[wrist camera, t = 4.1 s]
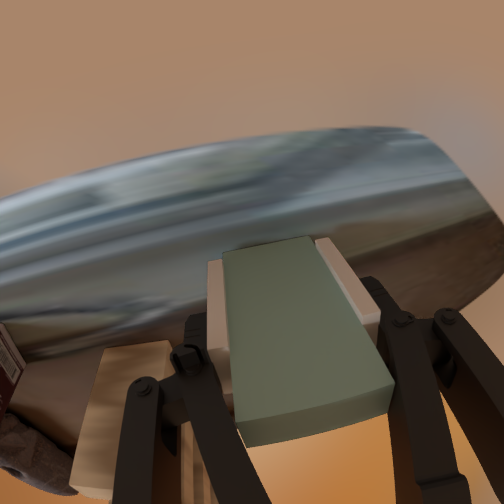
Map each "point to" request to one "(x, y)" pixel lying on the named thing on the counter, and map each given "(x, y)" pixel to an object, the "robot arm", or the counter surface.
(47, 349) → the counter surface
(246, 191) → the counter surface
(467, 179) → the counter surface
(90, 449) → the birch domino
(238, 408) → the grey-green domino
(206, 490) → the birch domino
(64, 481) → the perforated stone tool
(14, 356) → the supplement box
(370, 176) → the counter surface
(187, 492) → the birch domino
